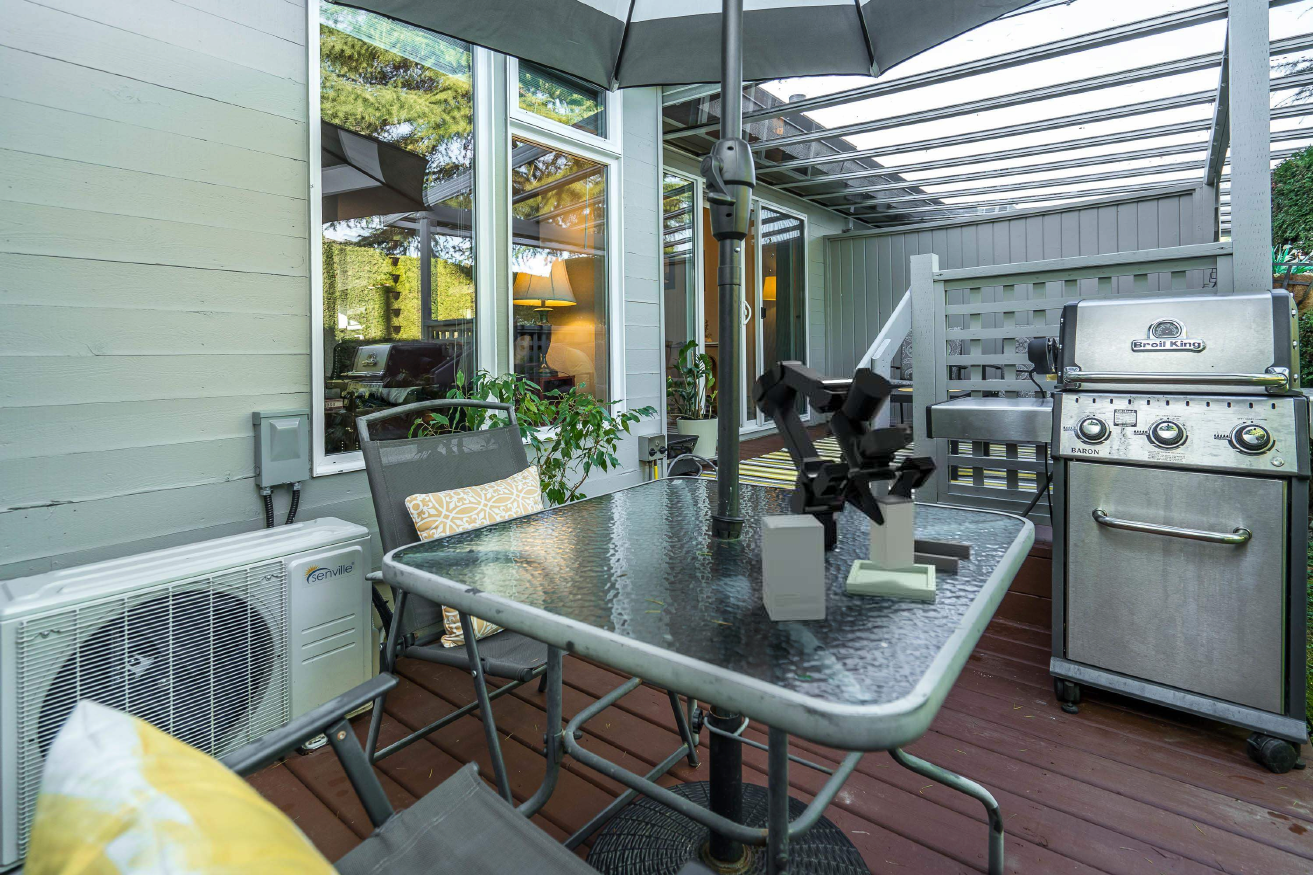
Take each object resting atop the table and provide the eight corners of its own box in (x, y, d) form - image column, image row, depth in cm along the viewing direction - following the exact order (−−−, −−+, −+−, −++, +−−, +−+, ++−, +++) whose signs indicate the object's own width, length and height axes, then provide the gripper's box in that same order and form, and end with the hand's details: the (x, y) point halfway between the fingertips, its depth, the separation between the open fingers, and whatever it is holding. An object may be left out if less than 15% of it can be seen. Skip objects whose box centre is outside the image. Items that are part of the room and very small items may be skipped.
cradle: (892, 563, 109) (892, 551, 109) (908, 548, 117) (908, 537, 117) (957, 571, 103) (957, 559, 103) (970, 555, 111) (970, 544, 111)
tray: (846, 592, 96) (846, 582, 96) (854, 568, 107) (854, 559, 107) (935, 600, 91) (935, 590, 91) (934, 574, 102) (935, 565, 102)
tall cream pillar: (869, 560, 101) (869, 496, 100) (895, 557, 102) (896, 494, 101) (886, 569, 96) (886, 502, 95) (913, 566, 97) (914, 499, 96)
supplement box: (826, 620, 86) (825, 525, 85) (770, 621, 87) (767, 527, 85) (814, 600, 94) (813, 513, 92) (762, 602, 94) (760, 515, 93)
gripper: (820, 410, 98) (860, 497, 89) (929, 403, 103) (979, 485, 93) (797, 456, 107) (832, 539, 97) (899, 448, 111) (941, 527, 102)
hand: (896, 522), depth 97 cm, fingers closed on tall cream pillar, 4 cm apart
